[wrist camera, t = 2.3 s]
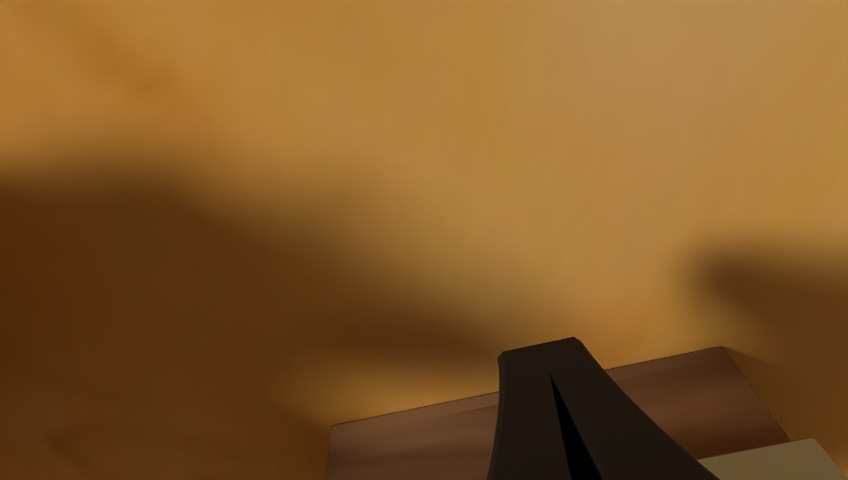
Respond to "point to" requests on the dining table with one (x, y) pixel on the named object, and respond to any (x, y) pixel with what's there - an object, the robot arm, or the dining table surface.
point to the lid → (777, 463)
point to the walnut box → (477, 416)
